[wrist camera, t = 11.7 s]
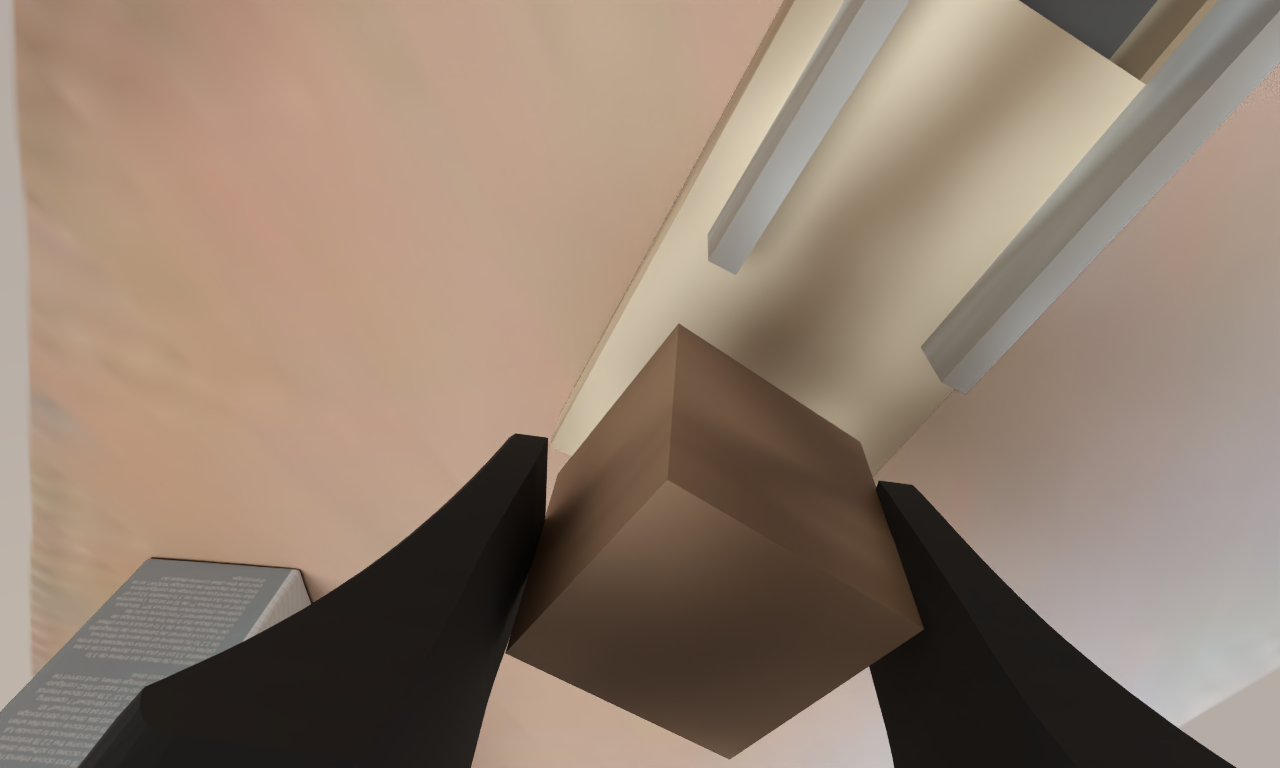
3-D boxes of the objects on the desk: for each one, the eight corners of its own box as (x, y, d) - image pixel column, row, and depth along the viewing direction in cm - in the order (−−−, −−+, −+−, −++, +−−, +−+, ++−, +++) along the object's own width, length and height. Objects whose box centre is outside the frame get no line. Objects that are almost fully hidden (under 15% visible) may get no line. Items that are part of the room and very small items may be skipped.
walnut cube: (860, 441, 13) (923, 629, 9) (722, 566, 15) (729, 759, 11) (678, 323, 12) (668, 480, 8) (558, 473, 14) (505, 652, 10)
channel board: (1507, -294, 13) (1784, -387, 10) (792, 519, 26) (805, 600, 23) (1130, -638, 12) (1308, -895, 8) (559, 413, 24) (537, 485, 21)
